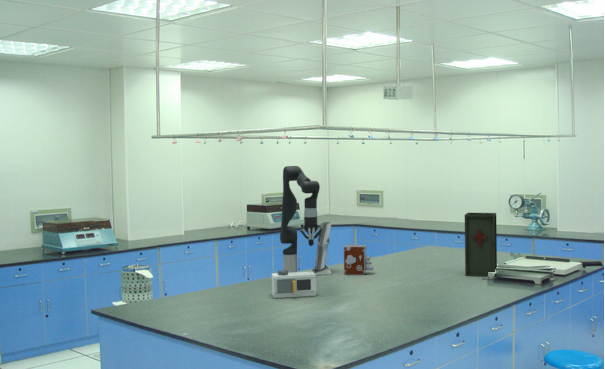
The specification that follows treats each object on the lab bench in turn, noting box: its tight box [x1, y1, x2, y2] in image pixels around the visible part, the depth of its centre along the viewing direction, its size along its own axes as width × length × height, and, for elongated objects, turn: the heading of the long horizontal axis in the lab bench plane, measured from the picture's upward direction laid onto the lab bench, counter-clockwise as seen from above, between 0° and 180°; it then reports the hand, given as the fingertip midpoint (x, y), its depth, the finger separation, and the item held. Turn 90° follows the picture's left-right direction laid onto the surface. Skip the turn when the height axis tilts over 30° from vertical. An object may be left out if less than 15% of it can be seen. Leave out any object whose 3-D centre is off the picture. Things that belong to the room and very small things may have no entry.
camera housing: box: [271, 269, 318, 299], centre depth 318 cm, size 11×24×14 cm, turn 99°
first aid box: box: [464, 212, 498, 278], centre depth 370 cm, size 18×18×40 cm
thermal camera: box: [311, 221, 332, 276], centre depth 383 cm, size 12×13×35 cm
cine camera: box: [343, 244, 374, 276], centre depth 378 cm, size 9×19×20 cm, turn 78°
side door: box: [277, 279, 296, 293], centre depth 310 cm, size 5×10×7 cm, turn 99°
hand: (311, 245), depth 321 cm, fingers closed
